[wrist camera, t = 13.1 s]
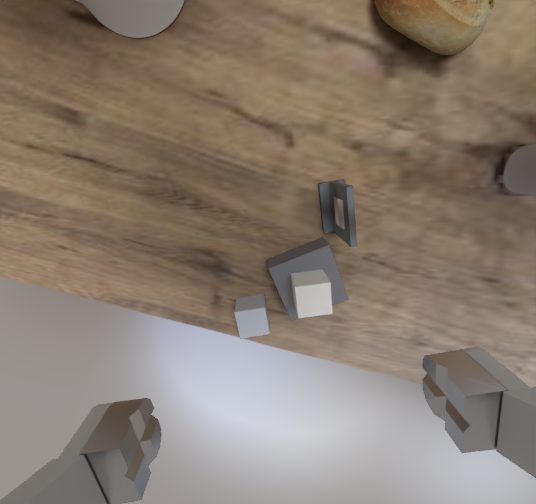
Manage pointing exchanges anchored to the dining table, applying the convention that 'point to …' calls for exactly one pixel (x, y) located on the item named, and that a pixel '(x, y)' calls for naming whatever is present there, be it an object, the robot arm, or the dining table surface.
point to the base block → (304, 260)
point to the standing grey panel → (338, 210)
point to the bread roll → (437, 21)
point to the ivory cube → (311, 293)
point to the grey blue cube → (252, 316)
